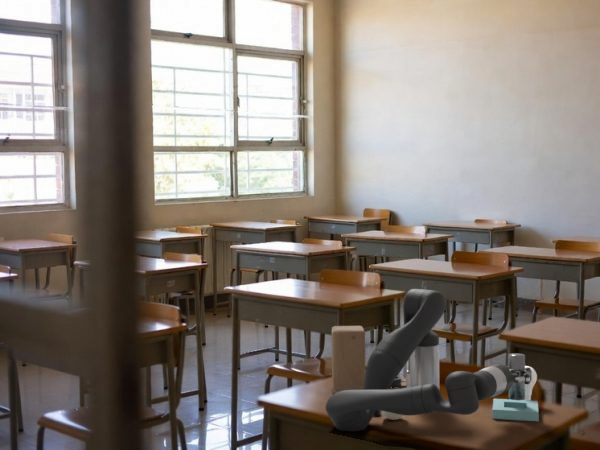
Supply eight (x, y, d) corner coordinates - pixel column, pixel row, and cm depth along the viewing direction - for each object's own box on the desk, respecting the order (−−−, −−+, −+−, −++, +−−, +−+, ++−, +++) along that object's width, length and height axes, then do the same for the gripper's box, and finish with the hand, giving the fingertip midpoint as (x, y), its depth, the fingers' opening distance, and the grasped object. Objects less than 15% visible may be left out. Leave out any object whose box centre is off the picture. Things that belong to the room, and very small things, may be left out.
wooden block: (365, 395, 242) (365, 330, 241) (333, 396, 242) (332, 330, 241) (363, 388, 252) (363, 325, 251) (332, 388, 252) (331, 325, 251)
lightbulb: (538, 406, 227) (537, 368, 226) (515, 406, 228) (515, 367, 228) (536, 401, 233) (535, 364, 232) (514, 400, 234) (514, 363, 234)
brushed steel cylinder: (508, 399, 218) (508, 356, 217) (508, 395, 222) (508, 353, 221) (525, 400, 217) (525, 356, 216) (525, 396, 221) (524, 353, 220)
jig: (492, 418, 215) (492, 409, 215) (493, 407, 227) (493, 398, 227) (538, 421, 212) (538, 412, 212) (537, 409, 224) (537, 400, 224)
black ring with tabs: (400, 391, 248) (400, 381, 248) (372, 386, 254) (372, 377, 254) (412, 386, 254) (411, 377, 254) (385, 382, 260) (384, 373, 260)
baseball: (407, 416, 219) (407, 392, 219) (404, 423, 212) (404, 398, 212) (382, 414, 221) (382, 390, 220) (379, 422, 213) (379, 397, 213)
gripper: (468, 391, 213) (497, 379, 226) (518, 399, 203) (545, 387, 216) (467, 363, 212) (497, 353, 225) (518, 370, 203) (545, 359, 216)
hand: (520, 370), depth 221 cm, fingers closed on brushed steel cylinder, 4 cm apart
